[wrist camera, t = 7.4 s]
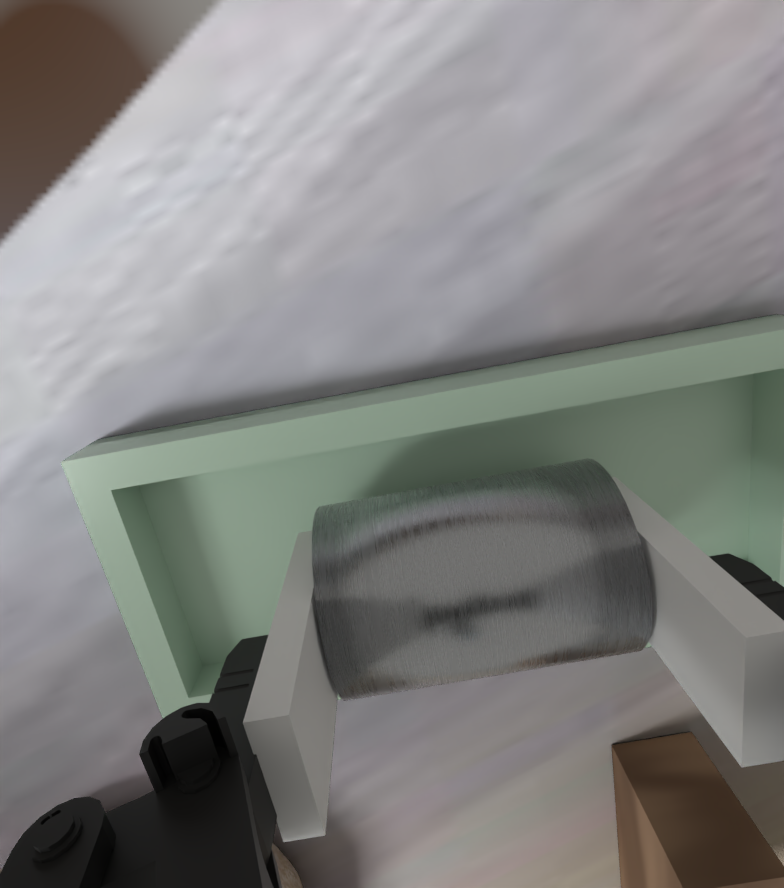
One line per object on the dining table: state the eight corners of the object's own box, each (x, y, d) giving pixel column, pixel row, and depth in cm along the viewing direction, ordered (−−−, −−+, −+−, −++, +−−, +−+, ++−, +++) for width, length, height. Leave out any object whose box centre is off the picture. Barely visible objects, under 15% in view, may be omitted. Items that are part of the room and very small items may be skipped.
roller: (324, 481, 15) (300, 557, 11) (564, 438, 15) (645, 496, 11) (357, 625, 17) (348, 749, 12) (580, 586, 16) (658, 697, 12)
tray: (188, 681, 19) (166, 728, 17) (98, 439, 16) (60, 462, 14) (764, 583, 18) (810, 620, 16) (776, 314, 15) (832, 320, 13)
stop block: (621, 889, 23) (687, 1055, 18) (611, 744, 20) (685, 892, 15) (692, 878, 22) (777, 1041, 18) (691, 732, 20) (790, 875, 15)
